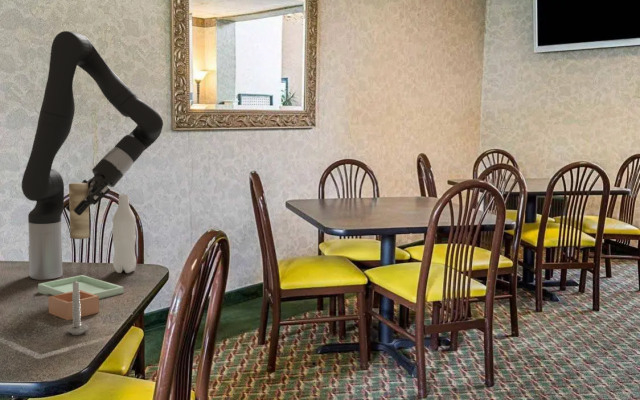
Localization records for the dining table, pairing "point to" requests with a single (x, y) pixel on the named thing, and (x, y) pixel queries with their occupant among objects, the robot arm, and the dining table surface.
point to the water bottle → (124, 236)
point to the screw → (76, 313)
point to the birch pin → (77, 222)
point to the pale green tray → (80, 286)
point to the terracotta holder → (63, 304)
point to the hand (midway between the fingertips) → (72, 211)
